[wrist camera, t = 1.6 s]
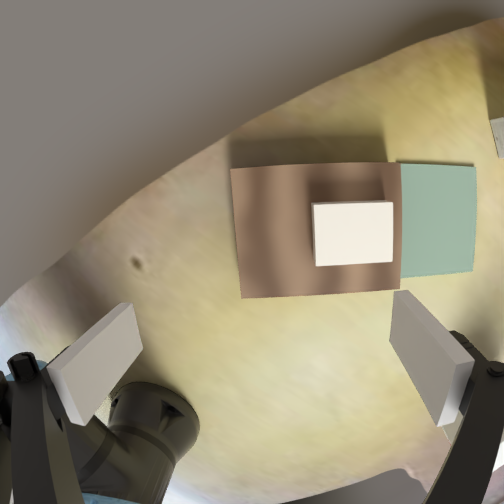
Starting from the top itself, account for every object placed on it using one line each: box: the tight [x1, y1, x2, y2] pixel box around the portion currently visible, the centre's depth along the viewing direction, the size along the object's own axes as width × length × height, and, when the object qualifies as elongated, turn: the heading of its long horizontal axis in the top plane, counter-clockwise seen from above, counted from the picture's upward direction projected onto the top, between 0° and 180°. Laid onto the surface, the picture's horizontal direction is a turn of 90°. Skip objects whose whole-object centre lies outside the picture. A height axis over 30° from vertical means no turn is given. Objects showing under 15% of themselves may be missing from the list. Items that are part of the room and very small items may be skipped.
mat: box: [400, 164, 477, 278], centre depth 34 cm, size 12×14×1 cm
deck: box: [230, 162, 402, 298], centre depth 34 cm, size 18×14×4 cm
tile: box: [311, 200, 393, 266], centre depth 31 cm, size 8×6×2 cm
